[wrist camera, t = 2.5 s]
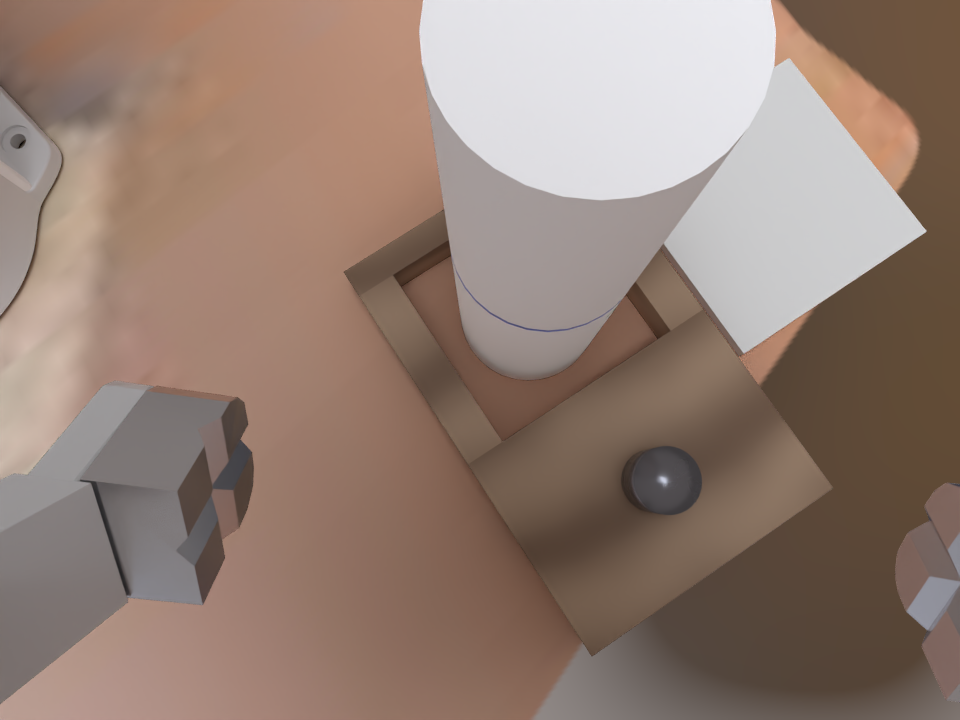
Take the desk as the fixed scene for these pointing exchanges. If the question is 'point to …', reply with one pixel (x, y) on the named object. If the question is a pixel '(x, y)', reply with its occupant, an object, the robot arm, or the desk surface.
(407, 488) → the desk surface
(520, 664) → the desk surface
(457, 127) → the cylindrical container
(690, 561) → the walnut board
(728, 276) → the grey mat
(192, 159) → the desk surface
